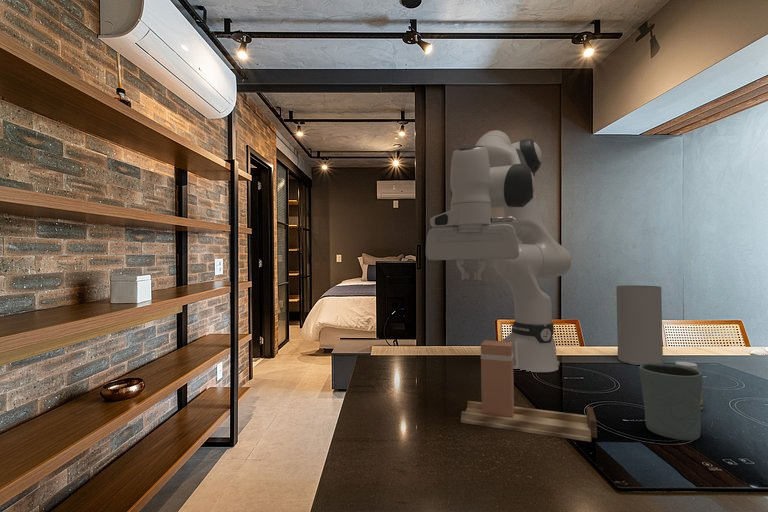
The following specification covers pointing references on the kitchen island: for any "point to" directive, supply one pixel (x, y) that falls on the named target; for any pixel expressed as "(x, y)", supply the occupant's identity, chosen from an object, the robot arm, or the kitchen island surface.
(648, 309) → the cylinder vase
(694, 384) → the green cup
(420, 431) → the kitchen island surface
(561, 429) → the chute
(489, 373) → the block
